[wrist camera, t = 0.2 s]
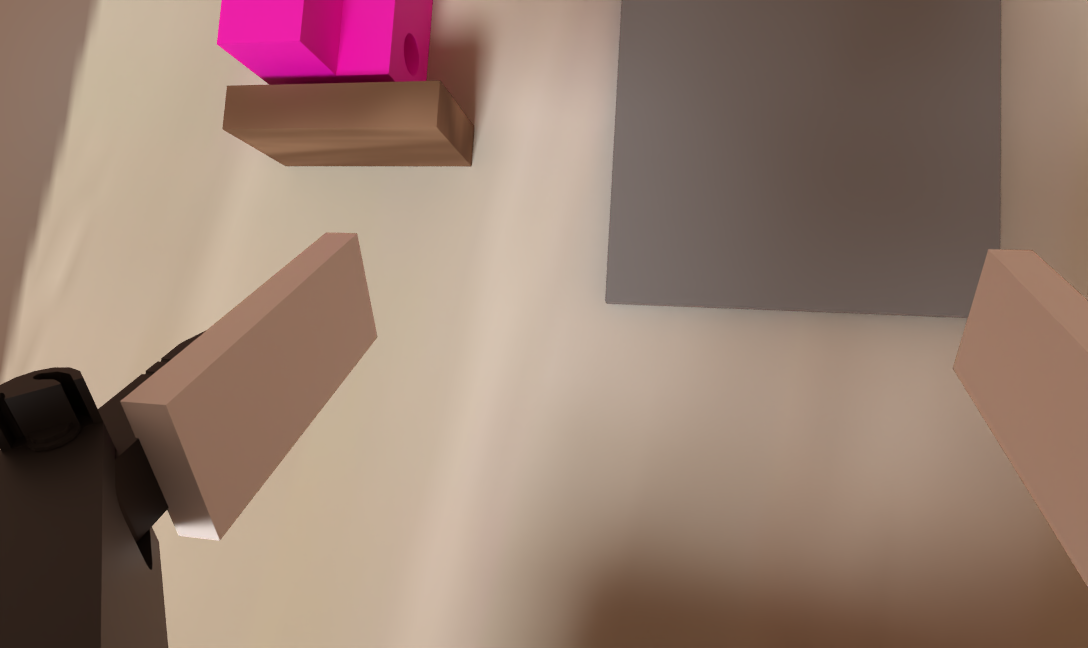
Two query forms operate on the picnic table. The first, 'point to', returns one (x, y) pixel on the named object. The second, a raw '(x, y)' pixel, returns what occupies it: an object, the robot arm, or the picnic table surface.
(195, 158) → the picnic table surface
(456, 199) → the picnic table surface
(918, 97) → the slate mat
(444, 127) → the block
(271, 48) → the toy block
